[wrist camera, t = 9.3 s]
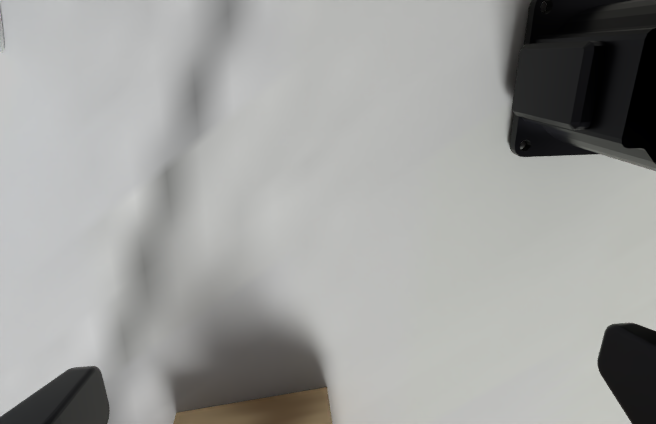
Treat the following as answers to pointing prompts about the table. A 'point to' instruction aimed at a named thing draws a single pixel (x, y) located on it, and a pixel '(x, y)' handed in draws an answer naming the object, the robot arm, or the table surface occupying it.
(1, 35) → the light bulb box
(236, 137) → the table surface
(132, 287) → the table surface
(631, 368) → the robot arm
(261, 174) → the table surface
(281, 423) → the oak block
